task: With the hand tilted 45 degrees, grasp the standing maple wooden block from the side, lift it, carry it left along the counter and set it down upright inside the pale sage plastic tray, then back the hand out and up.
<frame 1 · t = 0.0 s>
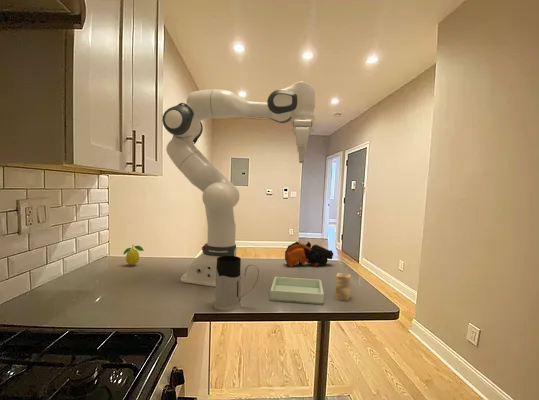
hand: (301, 161, 116), 48 cm above the countertop, tool pointing down, fingers open, 8 cm apart
block: (342, 297, 105), on the countertop
lemon: (133, 266, 137), on the countertop
tray: (296, 294, 107), on the countertop
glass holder: (235, 306, 95), on the countertop
tool: (308, 266, 147), on the countertop
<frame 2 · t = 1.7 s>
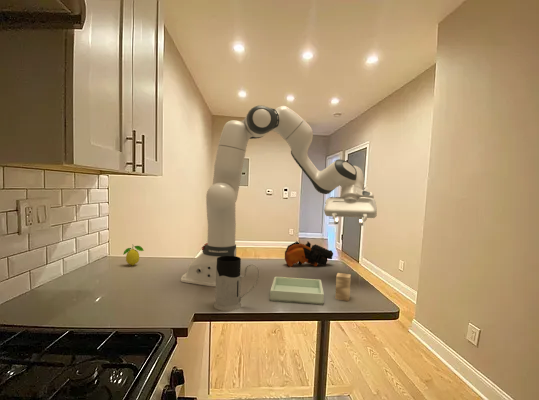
hand: (348, 224, 116), 25 cm above the countertop, tool tilted 45°, fingers open, 8 cm apart
nothing on the countertop moved.
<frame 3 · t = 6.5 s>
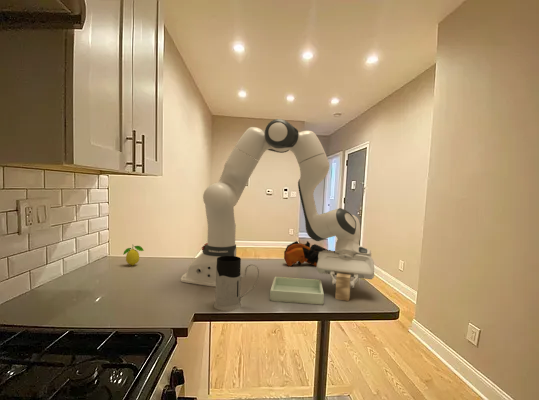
hand: (343, 285, 104), 4 cm above the countertop, tool tilted 45°, fingers closed on block, 4 cm apart
block: (342, 297, 105), on the countertop, touching gripper
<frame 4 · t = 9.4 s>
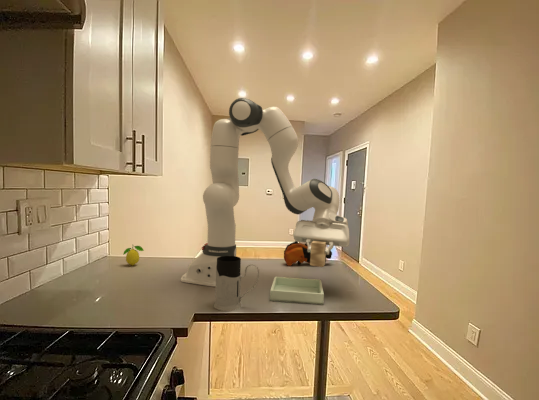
hand: (317, 252, 105), 16 cm above the countertop, tool tilted 45°, fingers closed on block, 4 cm apart
block: (317, 264, 106), point 11 cm above the countertop, touching gripper
when the fingers open (7 cm above the countertop, at t = 12.3 s): block drops 2 cm, resting on tray.
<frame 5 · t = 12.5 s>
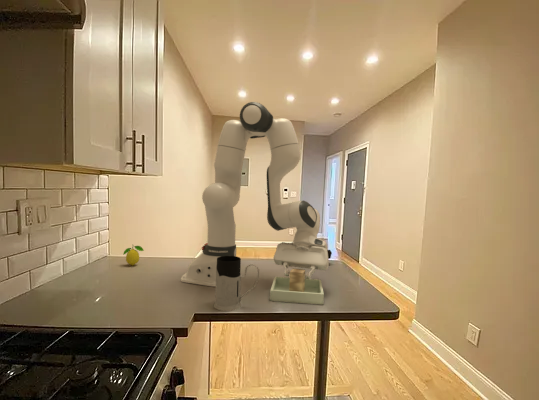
hand: (297, 276, 106), 7 cm above the countertop, tool tilted 45°, fingers open, 6 cm apart
block: (296, 292, 107), point 1 cm above the countertop, touching tray
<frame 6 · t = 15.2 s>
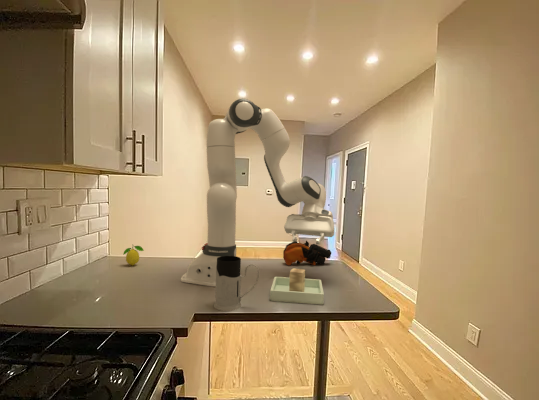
hand: (306, 242, 118), 17 cm above the countertop, tool tilted 45°, fingers open, 8 cm apart
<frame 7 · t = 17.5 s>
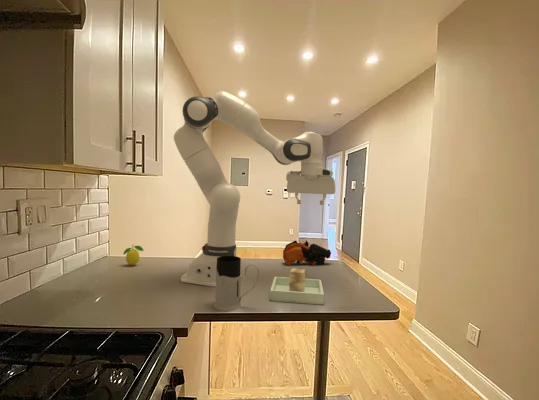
hand: (310, 204, 126), 31 cm above the countertop, tool pointing down, fingers open, 8 cm apart
at the end: block inside the target area on the tray (0.0 cm from its centre), point 0.6 cm above the tray's base; block tilted 0°; the gripper is holding nothing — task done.
